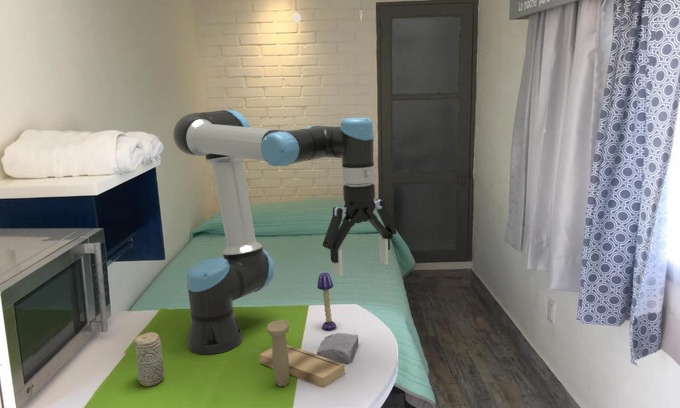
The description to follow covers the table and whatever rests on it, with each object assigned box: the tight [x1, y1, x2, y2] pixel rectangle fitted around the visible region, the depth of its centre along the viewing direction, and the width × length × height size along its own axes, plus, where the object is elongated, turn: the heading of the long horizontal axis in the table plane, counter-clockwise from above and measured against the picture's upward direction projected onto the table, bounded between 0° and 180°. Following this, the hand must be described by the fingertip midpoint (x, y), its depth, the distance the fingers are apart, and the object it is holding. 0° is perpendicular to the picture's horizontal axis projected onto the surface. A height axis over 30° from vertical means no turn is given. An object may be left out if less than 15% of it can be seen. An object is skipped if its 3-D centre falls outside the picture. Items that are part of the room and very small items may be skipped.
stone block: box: [316, 332, 359, 364], centre depth 149 cm, size 12×5×10 cm
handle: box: [266, 319, 290, 387], centre depth 133 cm, size 5×6×15 cm
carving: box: [134, 331, 165, 387], centre depth 138 cm, size 6×8×12 cm
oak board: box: [258, 344, 346, 388], centre depth 142 cm, size 22×8×3 cm, turn 51°
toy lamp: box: [316, 272, 337, 332], centre depth 163 cm, size 5×5×17 cm
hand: (361, 269), depth 137 cm, fingers open, 13 cm apart
